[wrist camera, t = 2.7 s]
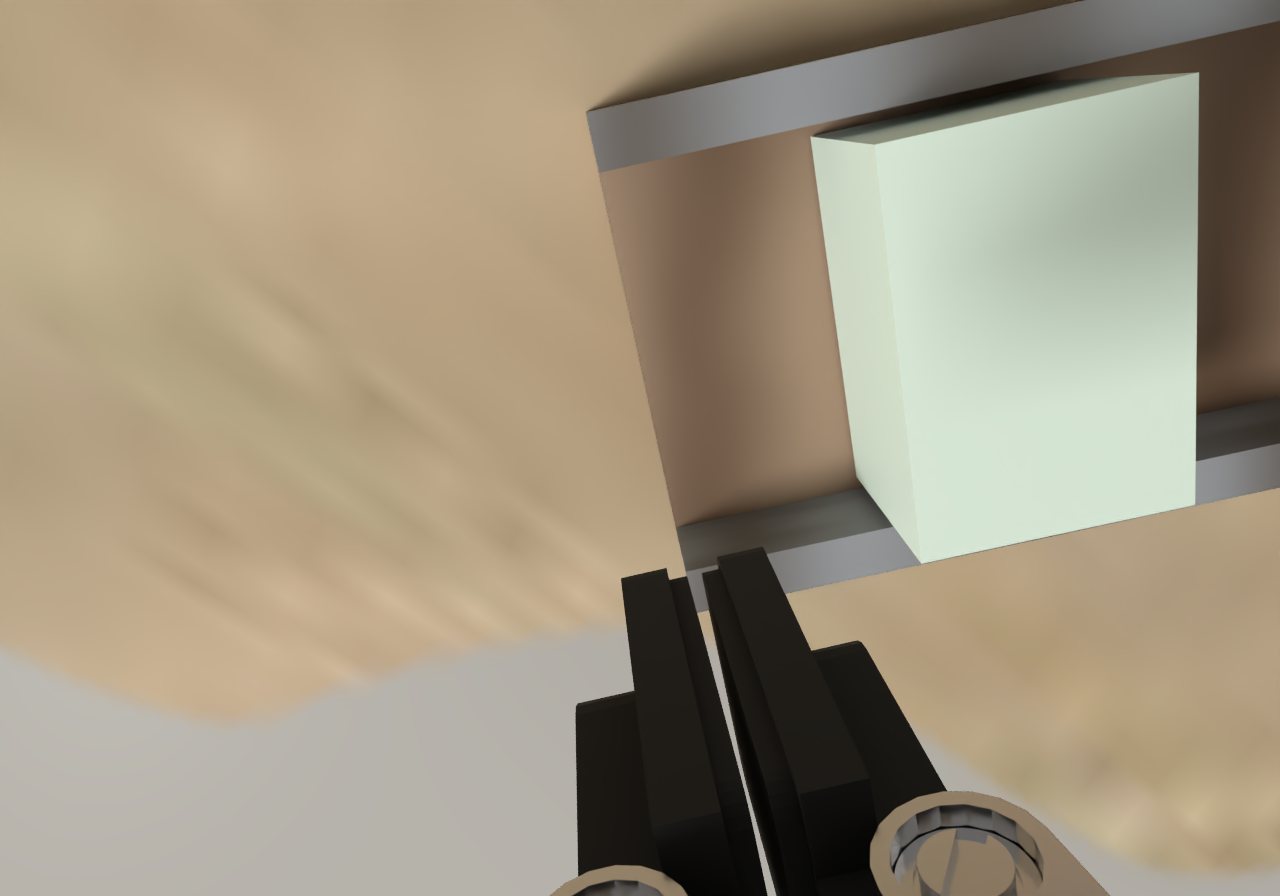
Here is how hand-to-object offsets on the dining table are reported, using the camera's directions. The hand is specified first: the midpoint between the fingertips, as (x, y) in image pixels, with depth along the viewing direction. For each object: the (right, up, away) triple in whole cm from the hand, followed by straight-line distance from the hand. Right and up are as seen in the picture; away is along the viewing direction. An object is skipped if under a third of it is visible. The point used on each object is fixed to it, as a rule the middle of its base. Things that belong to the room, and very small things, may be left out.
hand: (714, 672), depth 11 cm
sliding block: (+7, +6, +12) cm, 16 cm away
